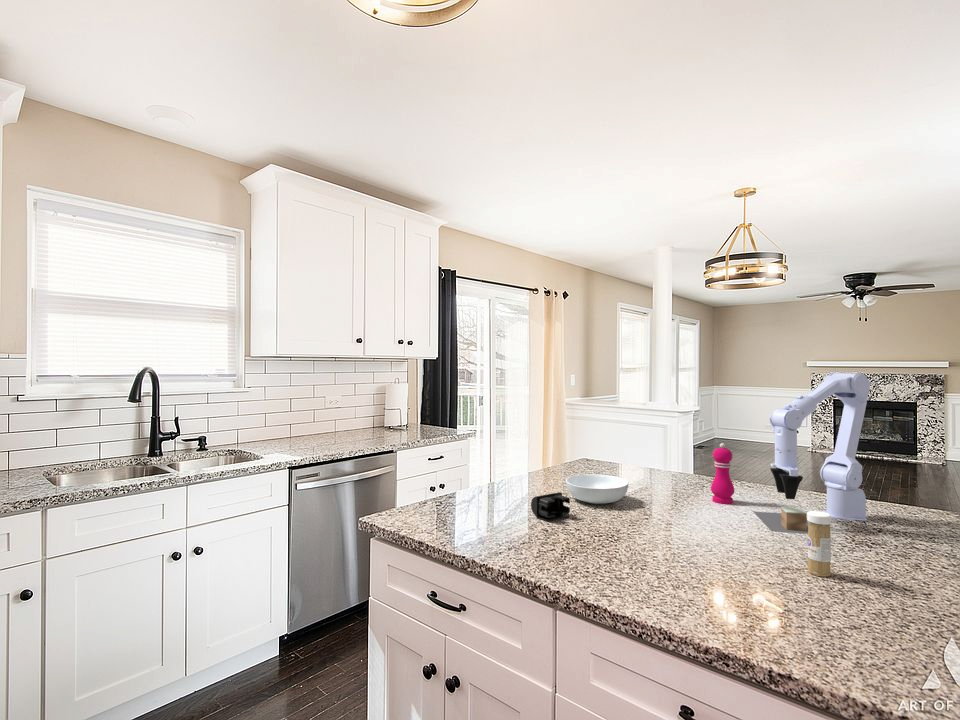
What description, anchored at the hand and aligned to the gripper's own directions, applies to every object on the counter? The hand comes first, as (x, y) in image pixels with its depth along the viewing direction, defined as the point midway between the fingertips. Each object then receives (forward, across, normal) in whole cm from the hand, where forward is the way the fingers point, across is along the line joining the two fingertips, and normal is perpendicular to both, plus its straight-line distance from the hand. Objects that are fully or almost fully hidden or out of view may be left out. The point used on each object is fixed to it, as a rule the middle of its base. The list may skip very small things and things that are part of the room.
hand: (786, 495), depth 156 cm
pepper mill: (+8, -18, -14) cm, 24 cm away
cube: (+2, +7, 0) cm, 8 cm away
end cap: (+8, +13, -68) cm, 70 cm away
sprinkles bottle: (+8, +41, -6) cm, 42 cm away
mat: (+8, +2, 0) cm, 8 cm away
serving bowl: (+8, -10, -55) cm, 57 cm away
